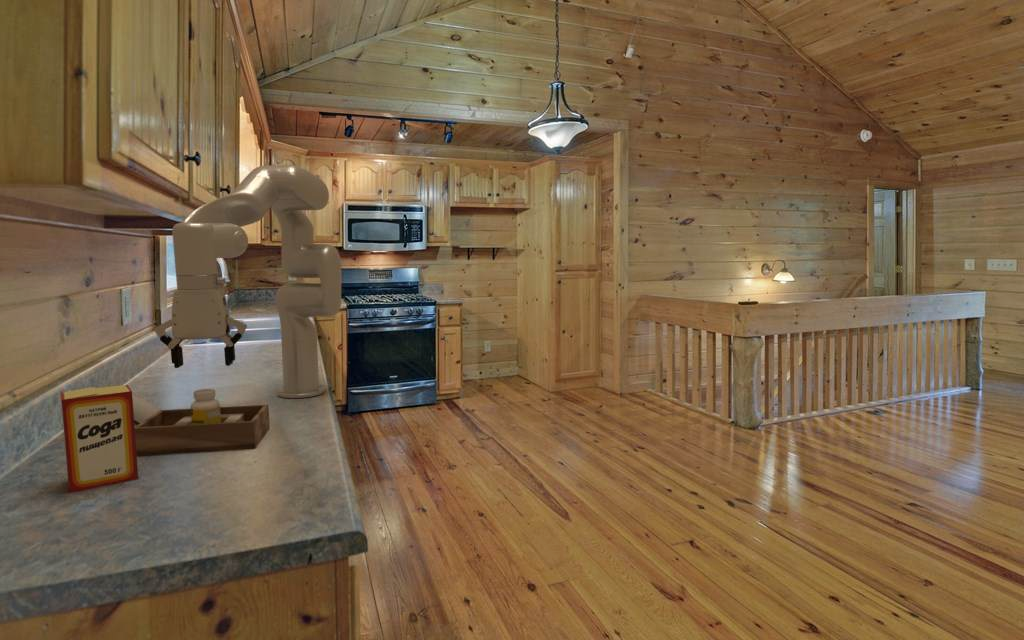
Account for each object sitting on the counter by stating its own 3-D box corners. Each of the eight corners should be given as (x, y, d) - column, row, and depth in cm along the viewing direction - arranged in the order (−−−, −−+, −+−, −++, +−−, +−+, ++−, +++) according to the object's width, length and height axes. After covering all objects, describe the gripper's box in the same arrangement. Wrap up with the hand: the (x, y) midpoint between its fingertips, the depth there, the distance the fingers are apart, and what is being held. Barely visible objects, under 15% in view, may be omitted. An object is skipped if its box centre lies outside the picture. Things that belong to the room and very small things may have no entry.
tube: (177, 411, 128) (142, 393, 144) (151, 408, 124) (118, 390, 140) (170, 435, 127) (135, 414, 144) (144, 432, 123) (111, 411, 140)
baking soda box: (133, 468, 103) (127, 382, 102) (138, 478, 98) (131, 388, 97) (67, 481, 97) (60, 390, 96) (69, 492, 92) (61, 397, 91)
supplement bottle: (187, 437, 118) (184, 391, 117) (212, 431, 122) (209, 386, 121) (201, 442, 115) (198, 395, 114) (226, 435, 120) (224, 389, 119)
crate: (162, 434, 123) (160, 410, 123) (269, 428, 128) (268, 404, 127) (133, 456, 110) (131, 428, 109) (255, 448, 114) (253, 422, 114)
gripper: (247, 281, 121) (253, 360, 123) (158, 283, 117) (165, 363, 119) (238, 284, 113) (244, 367, 116) (143, 286, 110) (151, 371, 112)
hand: (204, 365), depth 118 cm, fingers open, 9 cm apart
